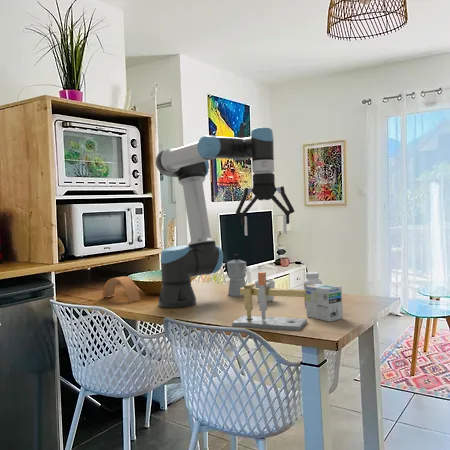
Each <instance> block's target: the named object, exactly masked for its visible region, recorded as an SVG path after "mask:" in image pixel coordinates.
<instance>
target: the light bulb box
mask: <svg viewBox="0 0 450 450" xmlns="http://www.w3.org/2000/svg"><path fill="white" fill-rule="evenodd" d="M342 288H343V287H342V286H338V285H330V284H323V283H322V284H314V285H307V286H306V295H307V296H306V307H305V308H306V317H308V318H313V319H316V320H319V321H325V322H333V321H337V320H342V319H343V318H344V314H343V313H344V311H343V294H342V293H343V291H342V290H343V289H342Z"/></svg>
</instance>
